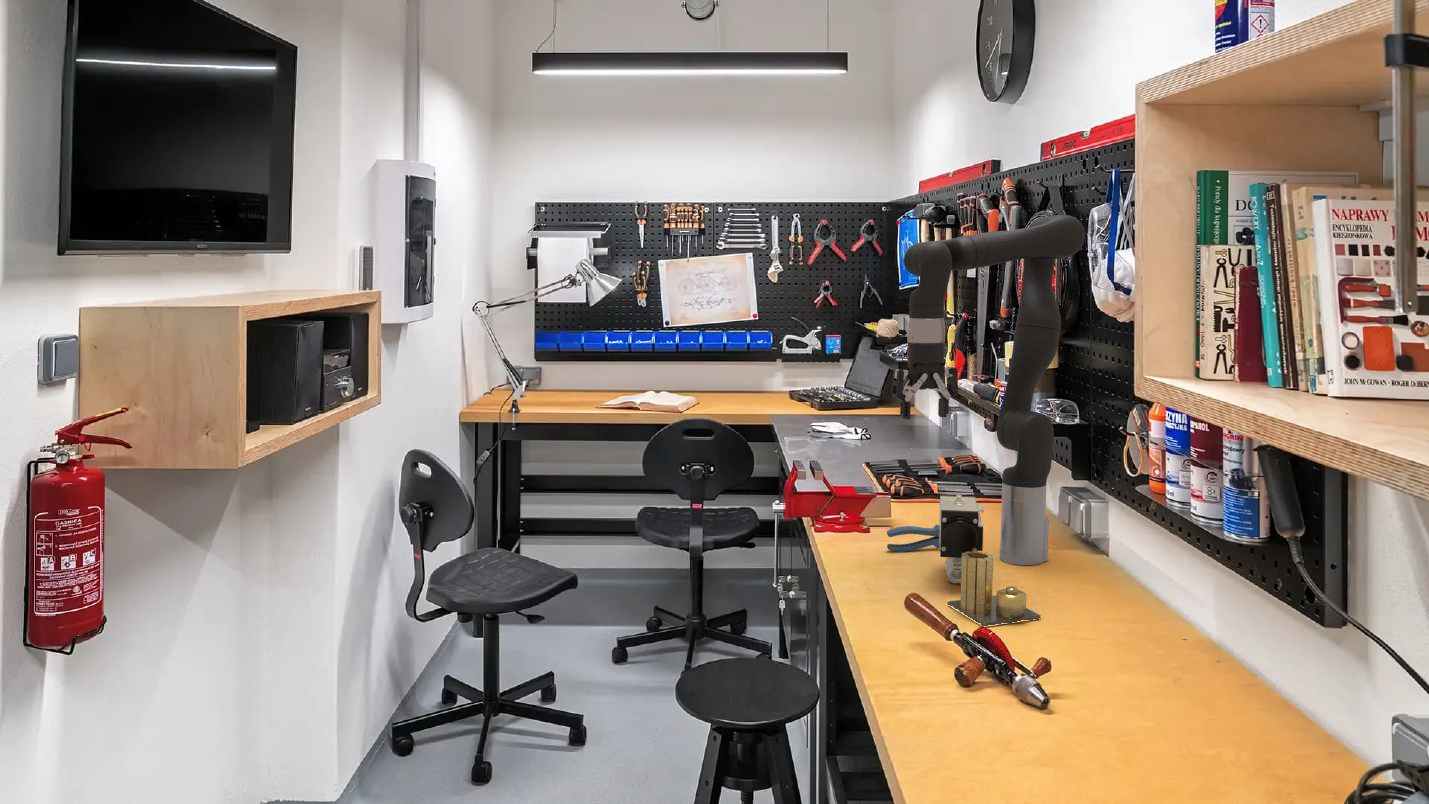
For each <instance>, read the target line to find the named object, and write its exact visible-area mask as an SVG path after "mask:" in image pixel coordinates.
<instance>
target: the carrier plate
mask: <svg viewBox="0 0 1429 804" xmlns="http://www.w3.org/2000/svg"><path fill="white" fill-rule="evenodd" d="M996 598H997V594H996V595H992V610H991V611H988V612H984V613H976V612H970V611H966V610H964V609H962V608H961V607H960V604H961V599H957V600H950V601H947V604H948V605H950V606H953V607H954V608H955V609H958V610H959V611H960V612H963V613H964V614H965V615H967V616H968V617H970V618H972V619H973V620H975V621H976V622H978V623H981V625H982V626H988V625H995V624H1001V623H1012V622H1017V621H1021V620H1033V619H1039V618H1040V619H1041V617H1042V616H1041V615H1040V614H1039V613H1037V612H1035V611H1034V610H1032V609H1029V608H1027V607H1026V617H1025V618H1023V619H1018V620H1012V619H1005V618H1002V617H999V616H998V615H997V614H996ZM982 626H981V627H982Z"/></svg>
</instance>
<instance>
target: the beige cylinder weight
mask: <svg viewBox="0 0 1429 804" xmlns="http://www.w3.org/2000/svg"><path fill="white" fill-rule="evenodd" d="M996 595H997V598H996V614H997V615H998V616H999V617H1002V618H1005V619H1012V620H1018V619H1023V618H1025V617H1026V608H1027V593H1026V592H1025V591H1023V590H1019V589H1018V587H1016V586H1010V585H1009V586H1005V588H1001V589H998V590H997V591H996Z"/></svg>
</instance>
